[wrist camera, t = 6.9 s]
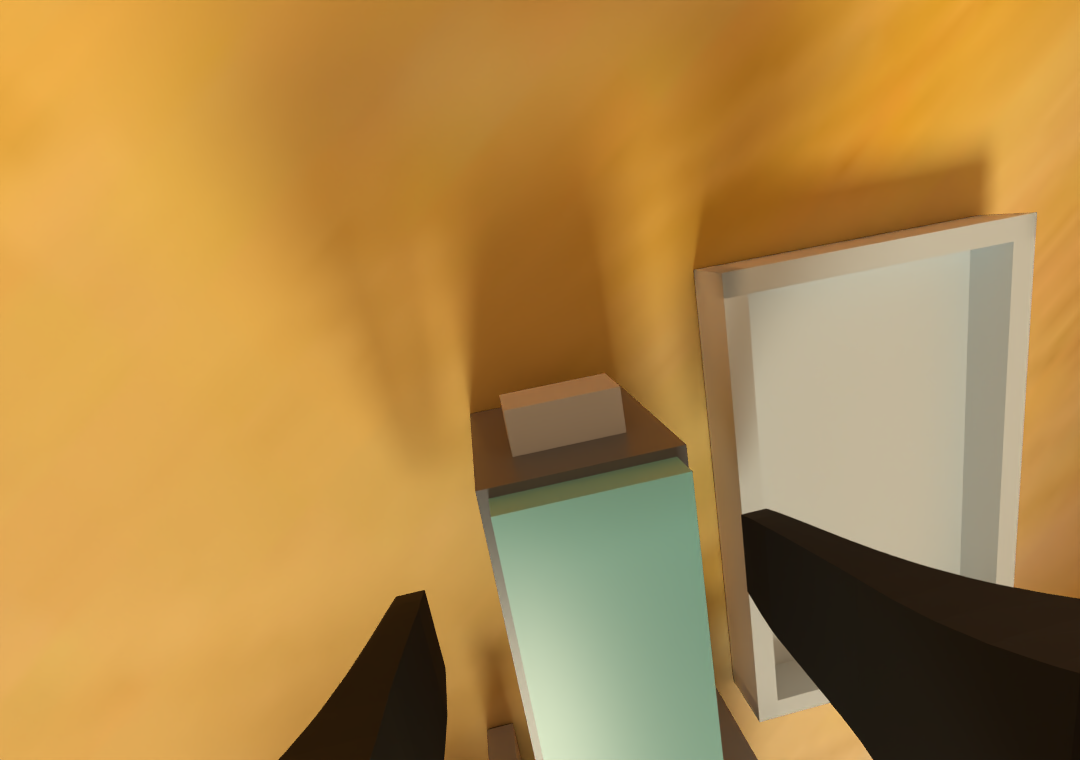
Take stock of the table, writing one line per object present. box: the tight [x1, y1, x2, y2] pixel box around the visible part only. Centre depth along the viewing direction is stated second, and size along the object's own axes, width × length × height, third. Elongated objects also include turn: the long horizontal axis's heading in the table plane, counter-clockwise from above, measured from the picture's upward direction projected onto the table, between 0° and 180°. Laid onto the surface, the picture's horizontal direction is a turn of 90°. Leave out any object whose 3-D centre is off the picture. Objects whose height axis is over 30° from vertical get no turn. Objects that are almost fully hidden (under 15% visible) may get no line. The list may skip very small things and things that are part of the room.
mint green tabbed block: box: [470, 373, 723, 760], centre depth 13 cm, size 4×9×6 cm, turn 9°
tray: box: [694, 212, 1037, 722], centre depth 16 cm, size 8×13×2 cm, turn 9°
